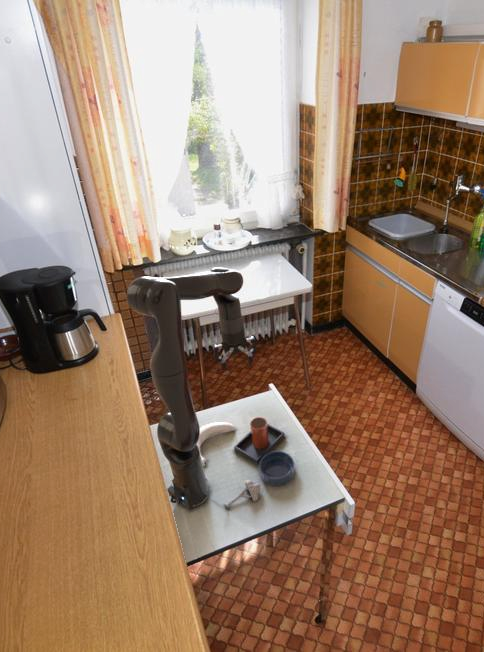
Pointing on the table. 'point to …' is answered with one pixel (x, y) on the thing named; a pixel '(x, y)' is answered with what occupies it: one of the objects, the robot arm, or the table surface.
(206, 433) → the banana
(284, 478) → the bowl
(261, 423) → the cup
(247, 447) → the tray
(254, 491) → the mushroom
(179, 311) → the robot arm
